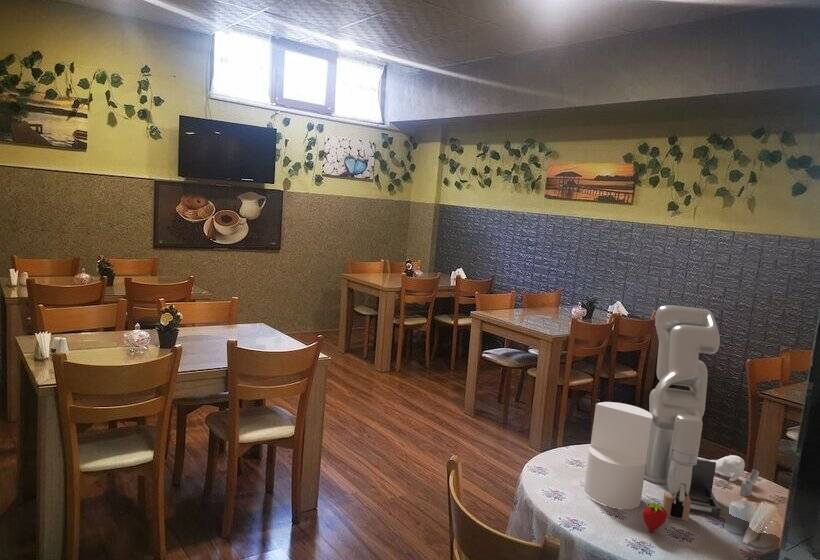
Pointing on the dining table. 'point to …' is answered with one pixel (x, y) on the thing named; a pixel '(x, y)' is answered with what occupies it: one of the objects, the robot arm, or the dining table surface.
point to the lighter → (749, 483)
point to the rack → (703, 489)
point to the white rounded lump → (730, 466)
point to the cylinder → (618, 454)
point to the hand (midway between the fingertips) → (675, 513)
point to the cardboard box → (667, 505)
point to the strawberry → (654, 516)
